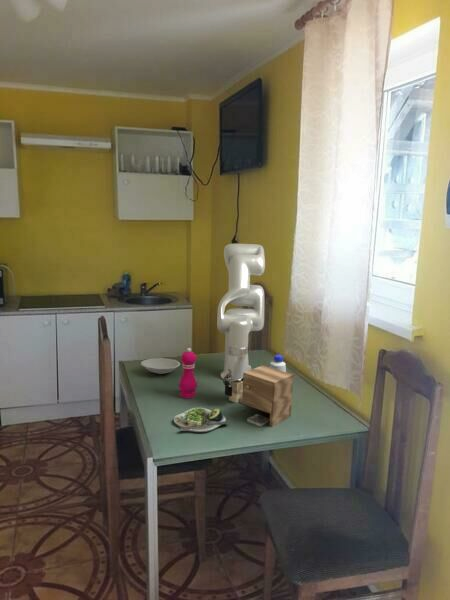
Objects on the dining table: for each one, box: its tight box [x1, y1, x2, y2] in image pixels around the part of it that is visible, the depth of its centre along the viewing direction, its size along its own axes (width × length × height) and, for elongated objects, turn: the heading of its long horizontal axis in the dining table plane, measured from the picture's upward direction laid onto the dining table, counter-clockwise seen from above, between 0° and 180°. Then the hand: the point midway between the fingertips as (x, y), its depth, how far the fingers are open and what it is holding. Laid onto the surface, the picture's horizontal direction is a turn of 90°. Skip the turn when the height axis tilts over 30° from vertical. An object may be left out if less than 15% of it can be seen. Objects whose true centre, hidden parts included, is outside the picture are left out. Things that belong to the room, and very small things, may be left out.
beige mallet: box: [228, 380, 270, 415], centre depth 193 cm, size 4×23×8 cm, turn 50°
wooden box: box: [241, 364, 295, 427], centre depth 185 cm, size 13×14×16 cm
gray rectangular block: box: [246, 413, 270, 427], centre depth 182 cm, size 6×6×2 cm
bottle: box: [269, 354, 287, 372], centre depth 197 cm, size 7×7×20 cm
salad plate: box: [173, 407, 231, 433], centre depth 178 cm, size 19×18×5 cm
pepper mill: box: [178, 347, 198, 399], centre depth 201 cm, size 7×7×20 cm
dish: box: [140, 357, 181, 375], centre depth 226 cm, size 18×14×5 cm
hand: (236, 392), depth 199 cm, fingers open, 9 cm apart
